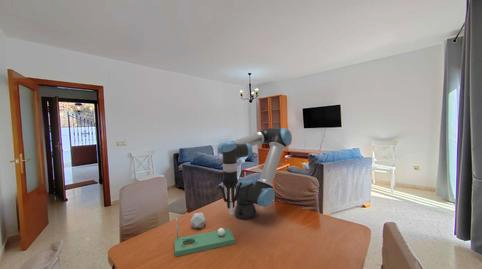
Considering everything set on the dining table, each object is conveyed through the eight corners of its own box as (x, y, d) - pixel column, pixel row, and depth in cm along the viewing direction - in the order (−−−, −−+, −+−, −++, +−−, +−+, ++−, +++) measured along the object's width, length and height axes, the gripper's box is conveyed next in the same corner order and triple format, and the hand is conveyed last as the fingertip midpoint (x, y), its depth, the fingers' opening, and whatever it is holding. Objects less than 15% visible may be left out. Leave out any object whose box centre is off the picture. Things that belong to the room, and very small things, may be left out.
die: (198, 233, 121) (208, 217, 124) (186, 225, 123) (195, 209, 125) (201, 231, 130) (210, 216, 132) (189, 223, 131) (198, 208, 133)
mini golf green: (229, 232, 120) (228, 208, 119) (235, 243, 109) (234, 217, 108) (174, 243, 111) (173, 217, 110) (175, 256, 100) (173, 228, 99)
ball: (224, 232, 115) (223, 225, 115) (225, 236, 111) (225, 229, 111) (216, 234, 114) (216, 227, 114) (218, 238, 110) (218, 230, 110)
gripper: (239, 168, 118) (240, 209, 119) (216, 170, 114) (217, 212, 115) (243, 171, 110) (244, 214, 112) (219, 173, 106) (220, 218, 108)
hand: (231, 213), depth 113 cm, fingers closed
